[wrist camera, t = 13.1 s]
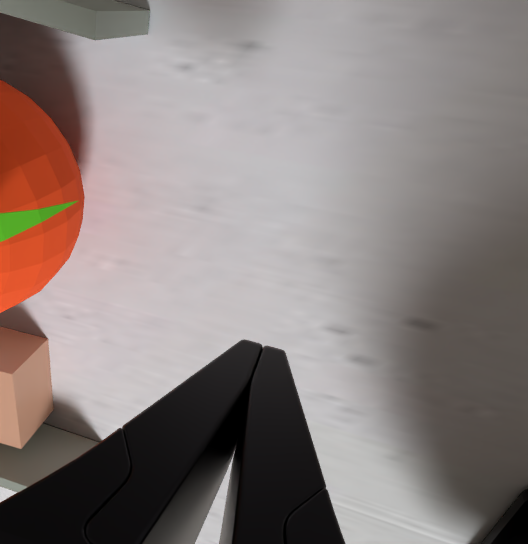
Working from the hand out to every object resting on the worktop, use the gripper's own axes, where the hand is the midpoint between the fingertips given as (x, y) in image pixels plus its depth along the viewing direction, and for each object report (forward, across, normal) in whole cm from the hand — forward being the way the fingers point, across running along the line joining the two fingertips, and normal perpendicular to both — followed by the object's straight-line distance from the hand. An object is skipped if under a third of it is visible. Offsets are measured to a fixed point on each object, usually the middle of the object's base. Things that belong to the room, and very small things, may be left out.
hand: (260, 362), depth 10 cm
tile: (+7, +11, +10) cm, 16 cm away
